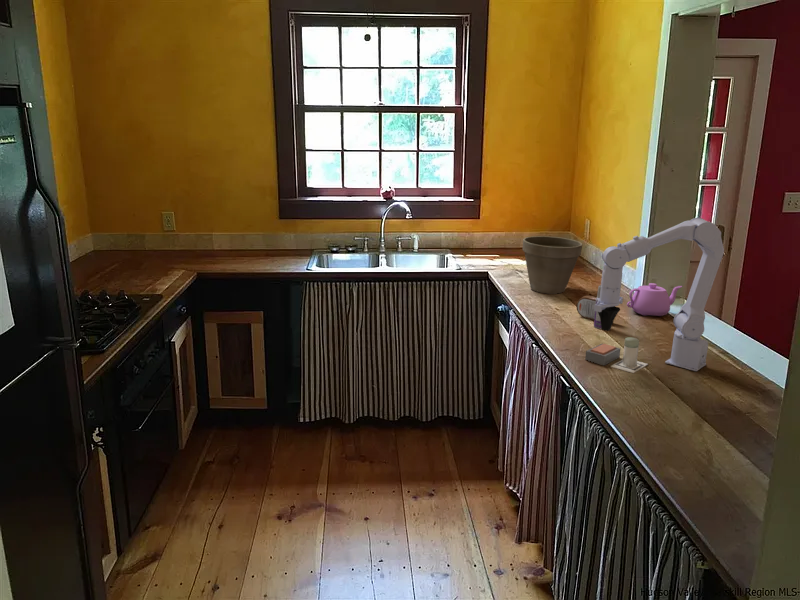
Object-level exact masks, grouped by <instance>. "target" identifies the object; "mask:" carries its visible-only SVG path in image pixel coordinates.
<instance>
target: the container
mask: <svg viewBox="0 0 800 600" xmlns="http://www.w3.org/2000/svg"><path fill="white" fill-rule="evenodd" d="M600 290H601V284H600V285H598V288H597V295H596V297H597V298H600ZM597 302H598V301H596V304H597ZM593 328H595V329H596V330H597V329H599V330H602V327H601V320H600V316H599V314H598V312H597V311H595V319H594V320H593Z"/></svg>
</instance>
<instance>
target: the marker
mask: <svg viewBox="0 0 800 600" xmlns="http://www.w3.org/2000/svg"><path fill="white" fill-rule="evenodd" d="M623 345H624V347H623V357H622V360H623V365H624V366H627V367H636V366H637V361H638V356H639V345H640V339H638V338H636V337H631V336H630V337H625V339H624V344H623Z"/></svg>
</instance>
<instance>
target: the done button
mask: <svg viewBox="0 0 800 600" xmlns="http://www.w3.org/2000/svg"><path fill="white" fill-rule="evenodd" d="M601 344H602V345H600V344H599V345H600V346H598V345H597V346H598V347H596V346H595V347H596V348H594V349H592V350H591V352H595V353H598V354H602V355H605V354H607V353H609V352H611V351H613V350H615V349H616V346H614V345H610V344H607V343H601Z"/></svg>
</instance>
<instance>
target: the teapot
mask: <svg viewBox="0 0 800 600" xmlns="http://www.w3.org/2000/svg"><path fill="white" fill-rule="evenodd" d="M682 287H683V286H682V285H677V286H674V287H673V289H672V290H671V294H670V296H669V294H668V291H667V289H665V288H664V287H661V286H658V284H657V283H656V282H655V283H654V282H653V283H652V282H650V283H648V285H640V286H638V287H635V288H632V289H631V290H630V291H629V293H628V295H629V299H630V300H629V301H628V302H627V303H626V306H627V308H631V309H632V310H633V311H634V312H635V313H636V314H638V315H641V316H644V317H647V316H652V317H653V316H657V317H662V316H666V315H668V313H669V312H670V311H671V306H672V305H673V304H674V303H675V300H676V296H677V293H678V290H679V289H681V288H682Z"/></svg>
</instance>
